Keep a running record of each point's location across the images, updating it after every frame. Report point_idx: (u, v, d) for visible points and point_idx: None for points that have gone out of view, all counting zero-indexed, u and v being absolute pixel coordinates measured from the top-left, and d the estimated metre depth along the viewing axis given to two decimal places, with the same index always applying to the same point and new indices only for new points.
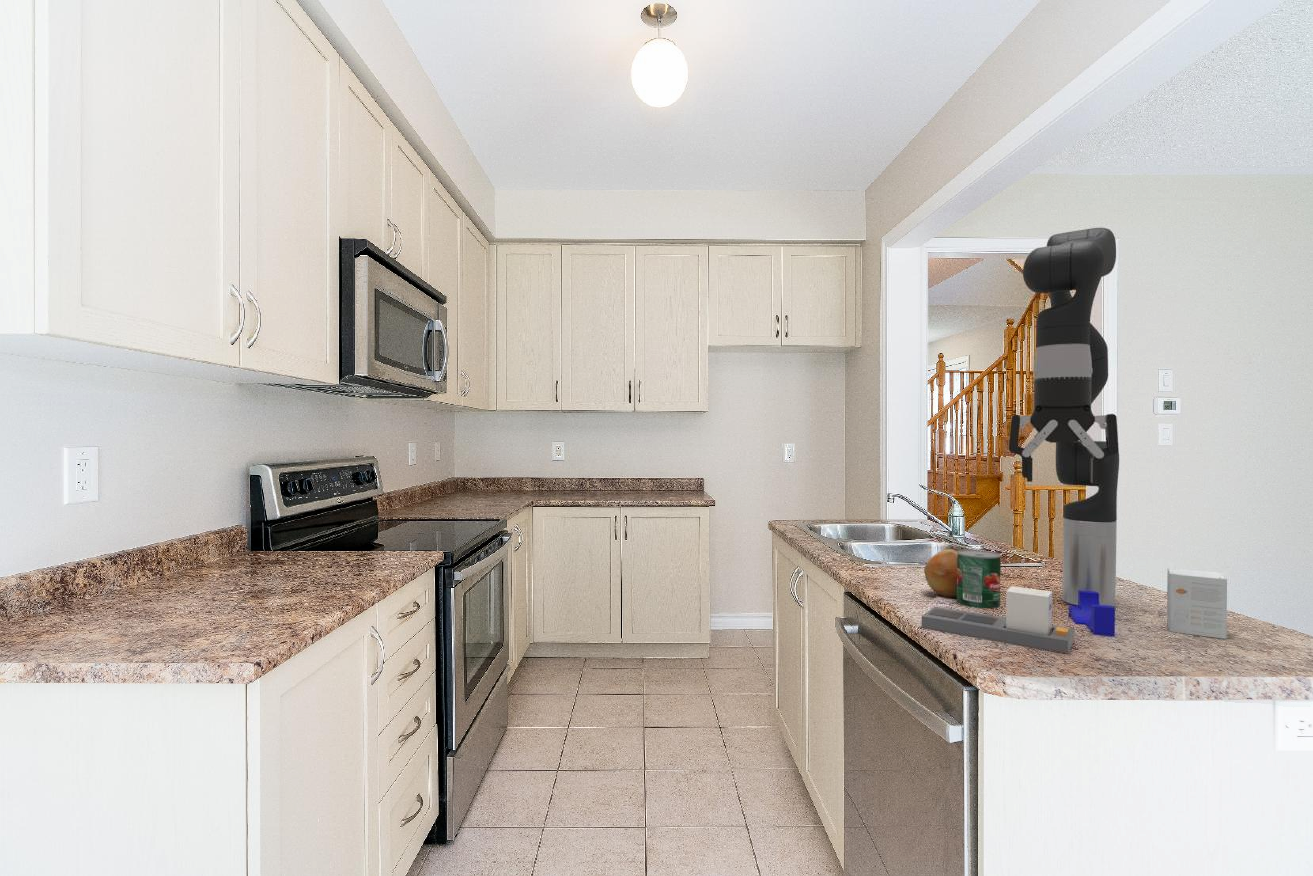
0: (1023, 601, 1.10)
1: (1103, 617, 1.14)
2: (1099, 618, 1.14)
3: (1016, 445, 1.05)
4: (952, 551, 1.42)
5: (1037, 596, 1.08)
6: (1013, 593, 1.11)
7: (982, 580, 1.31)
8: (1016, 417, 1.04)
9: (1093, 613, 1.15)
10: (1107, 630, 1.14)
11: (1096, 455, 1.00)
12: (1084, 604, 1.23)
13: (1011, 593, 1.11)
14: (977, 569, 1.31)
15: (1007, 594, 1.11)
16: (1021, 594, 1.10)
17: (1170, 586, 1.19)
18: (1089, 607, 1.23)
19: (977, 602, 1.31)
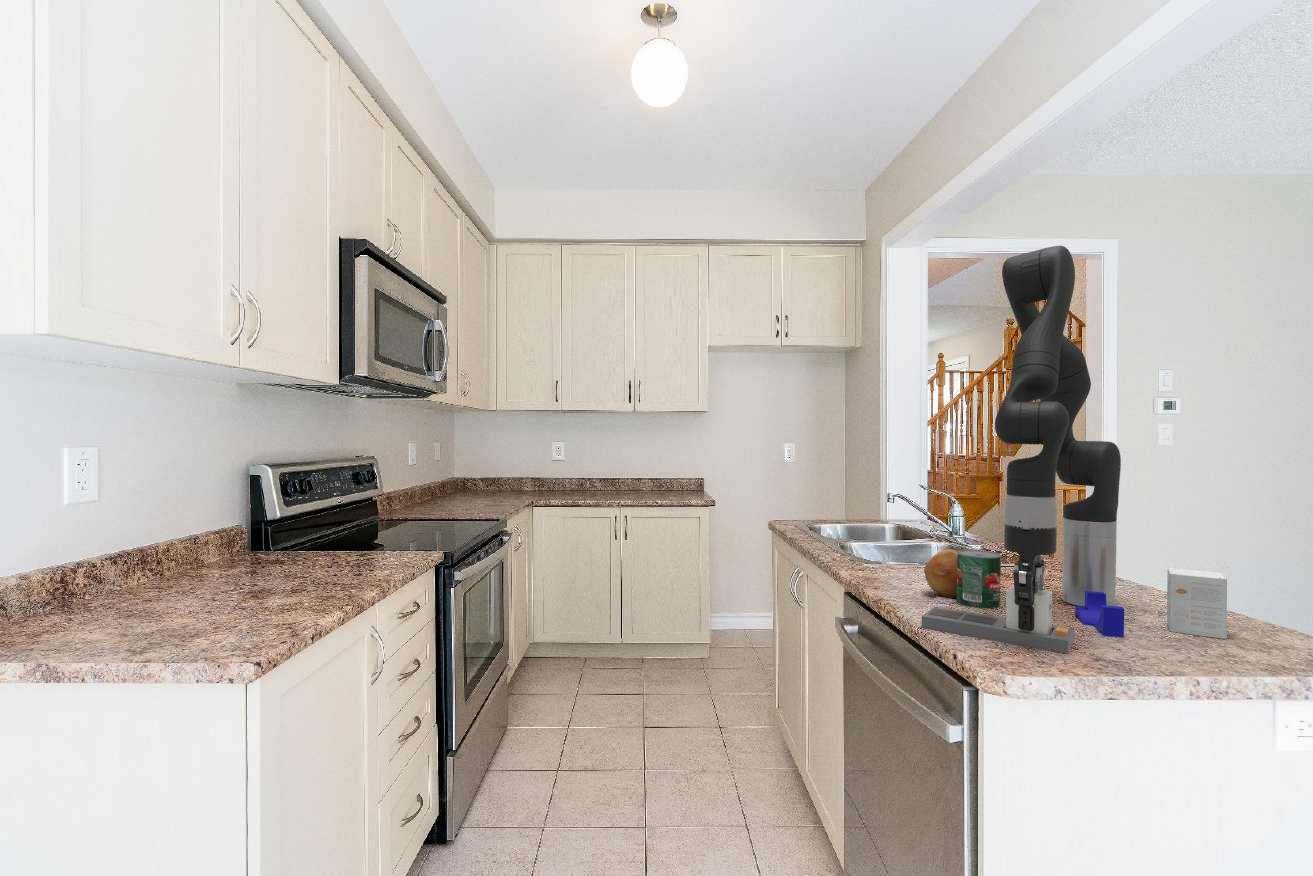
0: None
1: (1112, 618, 1.13)
2: (1108, 619, 1.13)
3: (1032, 598, 1.07)
4: (952, 551, 1.42)
5: (1037, 596, 1.08)
6: (1013, 593, 1.11)
7: (982, 580, 1.31)
8: (1032, 574, 1.05)
9: (1102, 614, 1.14)
10: (1116, 631, 1.13)
11: None
12: (1091, 605, 1.23)
13: (1011, 593, 1.11)
14: (977, 569, 1.31)
15: (1007, 594, 1.11)
16: None
17: (1170, 586, 1.19)
18: (1096, 608, 1.22)
19: (977, 602, 1.31)
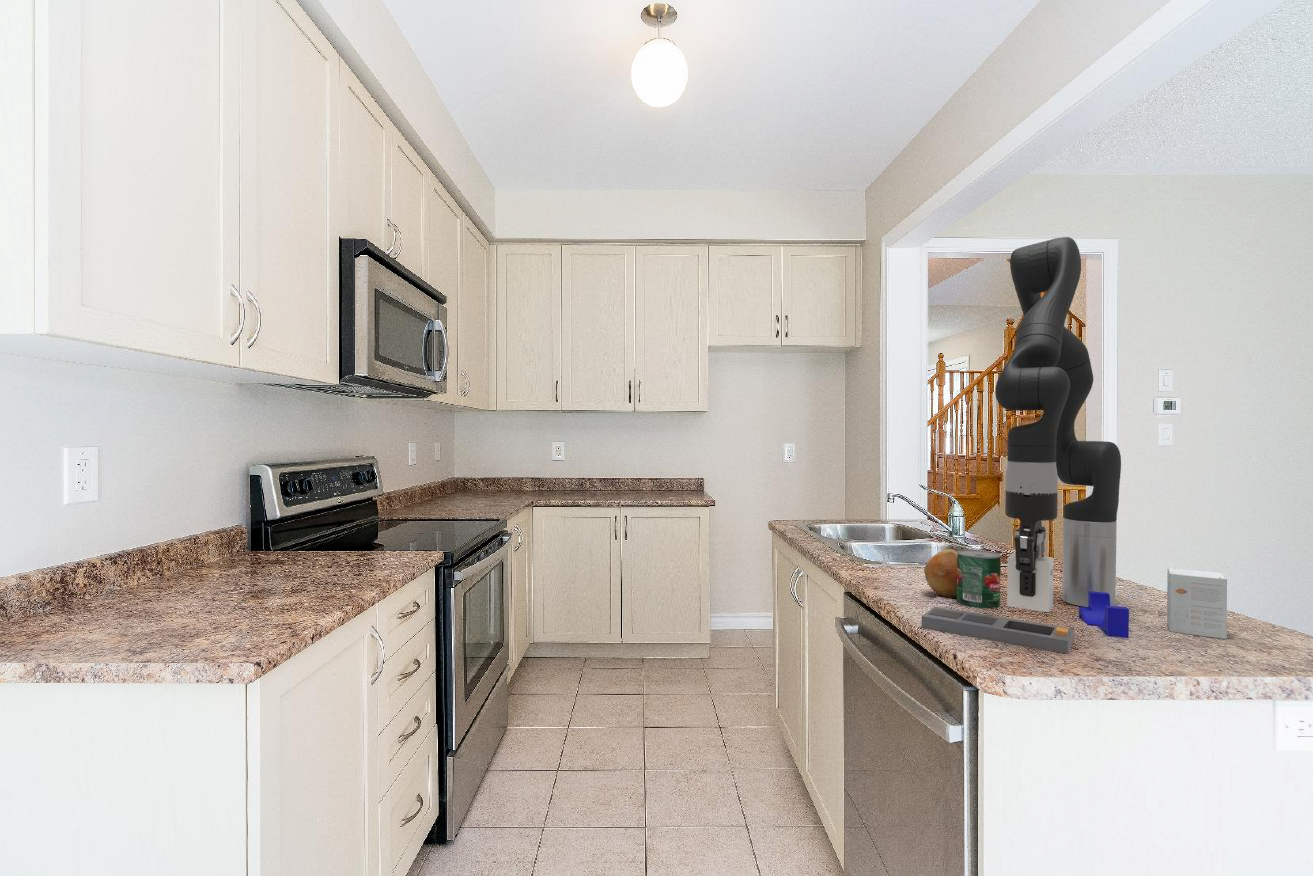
0: None
1: (1117, 619, 1.13)
2: (1113, 619, 1.13)
3: (1034, 563, 1.07)
4: (952, 551, 1.42)
5: (1038, 562, 1.08)
6: (1014, 559, 1.10)
7: (982, 580, 1.31)
8: (1033, 539, 1.05)
9: (1106, 615, 1.14)
10: (1121, 631, 1.13)
11: None
12: (1095, 605, 1.23)
13: (1012, 559, 1.11)
14: (977, 569, 1.31)
15: (1008, 560, 1.11)
16: None
17: (1170, 586, 1.19)
18: (1100, 608, 1.22)
19: (977, 602, 1.31)
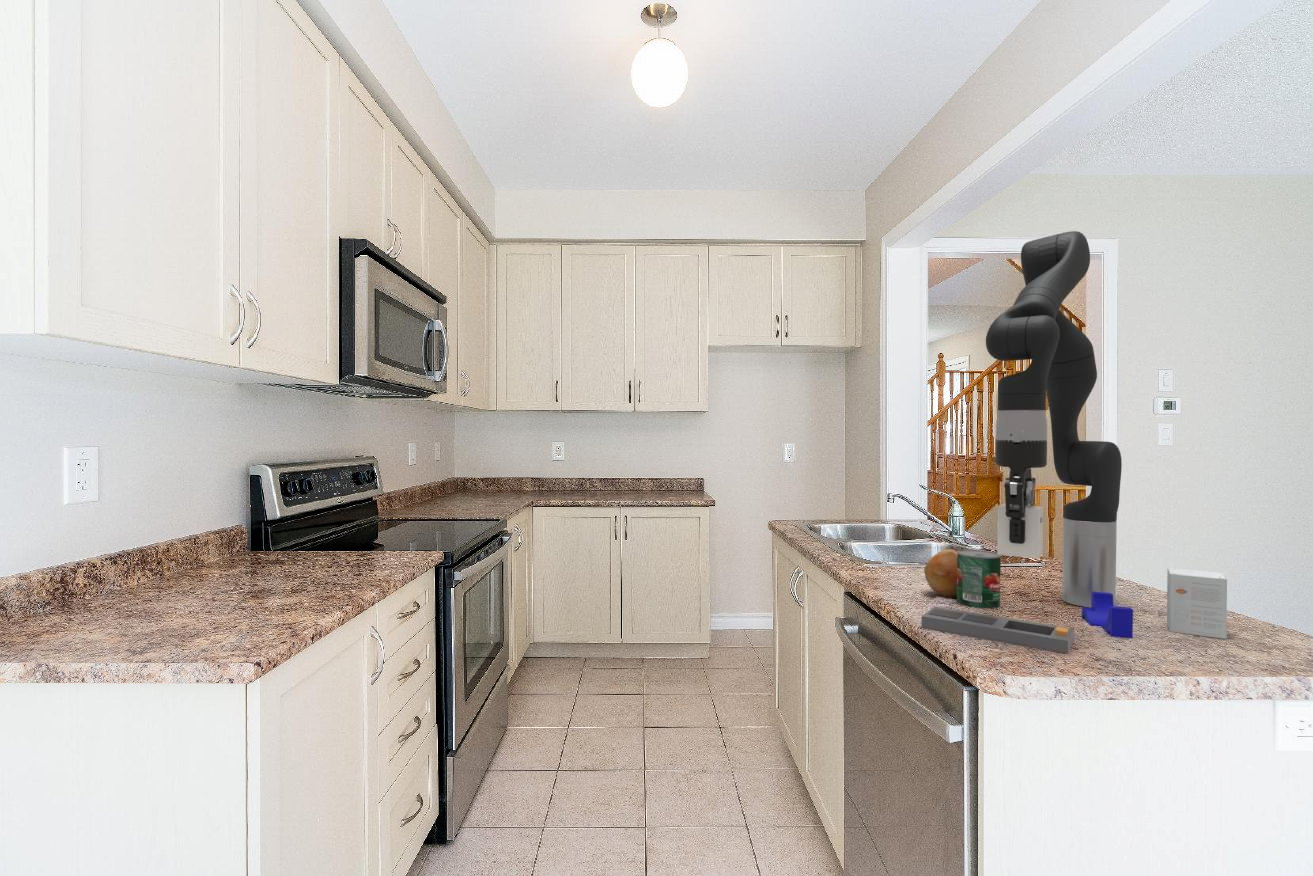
0: None
1: (1121, 619, 1.13)
2: (1117, 620, 1.13)
3: (1023, 510, 1.07)
4: (952, 551, 1.42)
5: (1028, 509, 1.09)
6: (1004, 508, 1.11)
7: (982, 580, 1.31)
8: (1022, 485, 1.06)
9: (1110, 615, 1.14)
10: (1125, 632, 1.13)
11: None
12: (1098, 605, 1.22)
13: (1002, 508, 1.11)
14: (977, 569, 1.31)
15: (998, 509, 1.12)
16: None
17: (1170, 586, 1.19)
18: (1103, 608, 1.22)
19: (977, 602, 1.31)
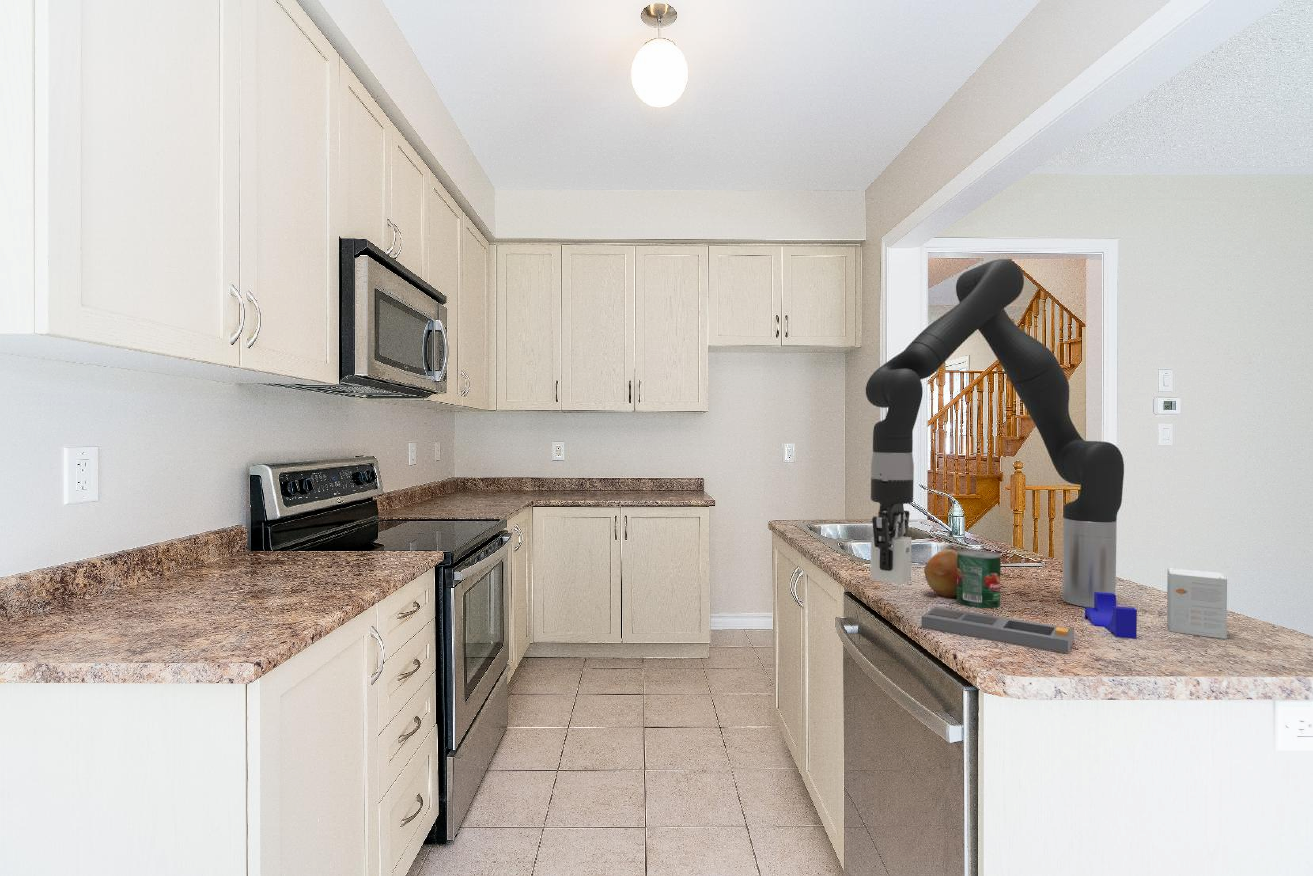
0: None
1: (1125, 619, 1.12)
2: (1121, 620, 1.13)
3: (889, 541, 1.22)
4: (952, 551, 1.42)
5: (895, 540, 1.23)
6: None
7: (982, 580, 1.31)
8: (887, 519, 1.20)
9: (1114, 615, 1.14)
10: (1129, 632, 1.12)
11: None
12: (1101, 606, 1.22)
13: None
14: (977, 569, 1.31)
15: (871, 539, 1.26)
16: None
17: (1170, 586, 1.19)
18: (1106, 609, 1.22)
19: (977, 602, 1.31)
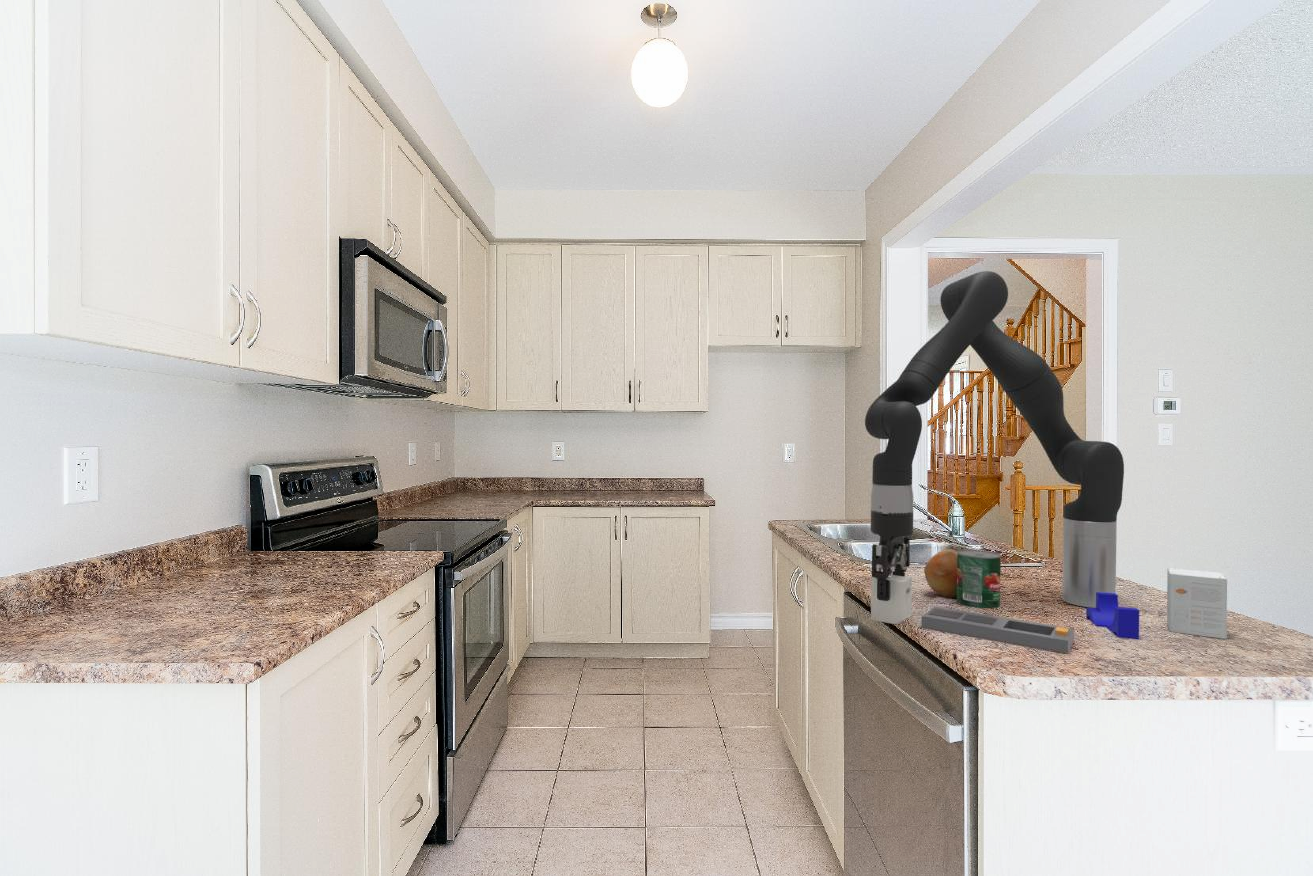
0: None
1: (1127, 620, 1.12)
2: (1123, 621, 1.12)
3: (886, 572, 1.21)
4: (952, 551, 1.42)
5: (895, 581, 1.23)
6: (876, 579, 1.25)
7: (982, 580, 1.31)
8: (887, 548, 1.20)
9: (1116, 616, 1.13)
10: (1131, 633, 1.12)
11: (905, 570, 1.29)
12: (1103, 606, 1.22)
13: (875, 579, 1.26)
14: (977, 569, 1.31)
15: (872, 580, 1.26)
16: None
17: (1170, 586, 1.19)
18: (1108, 609, 1.22)
19: (977, 602, 1.31)
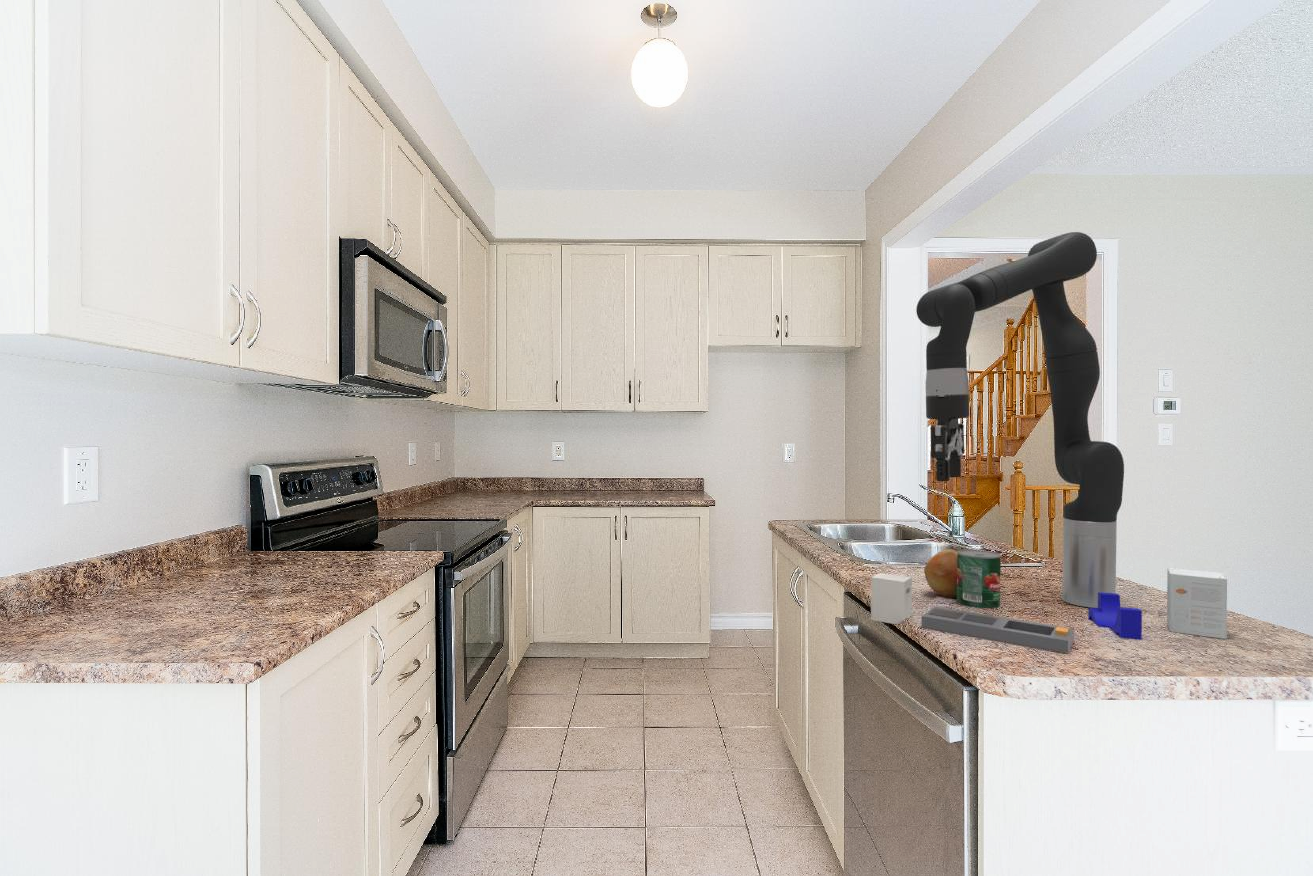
0: (884, 585, 1.24)
1: (1130, 620, 1.12)
2: (1126, 621, 1.12)
3: (946, 451, 1.22)
4: (952, 551, 1.42)
5: (895, 581, 1.23)
6: (876, 579, 1.25)
7: (982, 580, 1.31)
8: (946, 427, 1.22)
9: (1119, 616, 1.13)
10: (1134, 633, 1.12)
11: (961, 455, 1.30)
12: (1105, 606, 1.22)
13: (875, 579, 1.26)
14: (977, 569, 1.31)
15: (872, 580, 1.26)
16: (882, 579, 1.25)
17: (1170, 586, 1.19)
18: (1110, 609, 1.21)
19: (977, 602, 1.31)
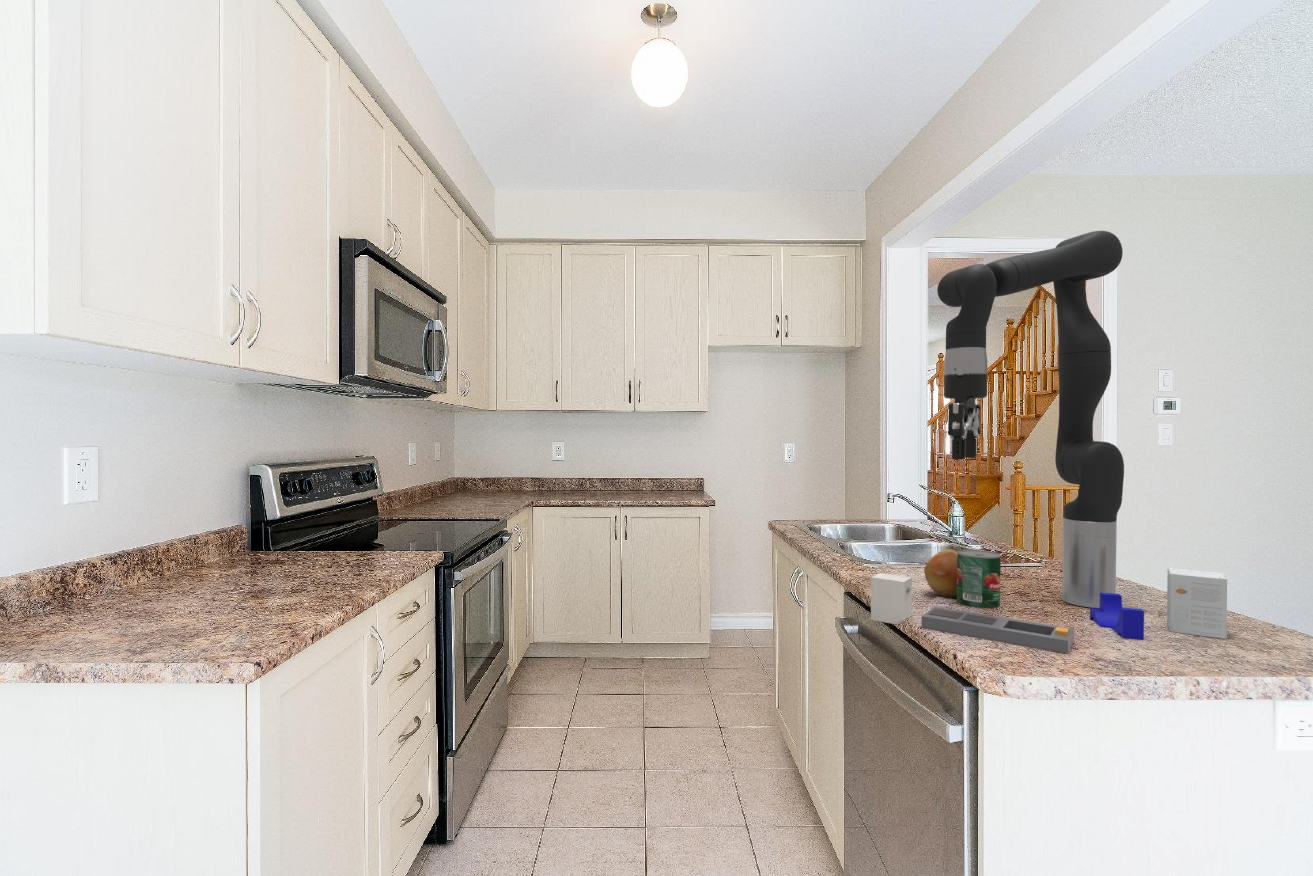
0: (884, 585, 1.24)
1: (1132, 620, 1.12)
2: (1128, 621, 1.12)
3: (963, 429, 1.23)
4: (952, 551, 1.42)
5: (895, 581, 1.23)
6: (876, 579, 1.25)
7: (982, 580, 1.31)
8: (964, 405, 1.22)
9: (1121, 616, 1.13)
10: (1136, 633, 1.12)
11: (977, 435, 1.31)
12: (1107, 607, 1.22)
13: (875, 579, 1.26)
14: (977, 569, 1.31)
15: (872, 580, 1.26)
16: (882, 579, 1.25)
17: (1170, 586, 1.19)
18: (1112, 610, 1.21)
19: (977, 602, 1.31)
